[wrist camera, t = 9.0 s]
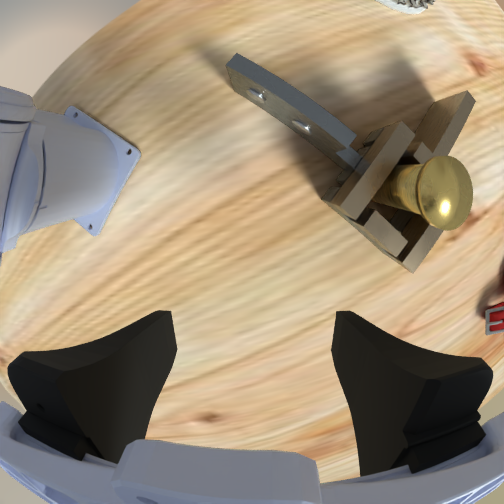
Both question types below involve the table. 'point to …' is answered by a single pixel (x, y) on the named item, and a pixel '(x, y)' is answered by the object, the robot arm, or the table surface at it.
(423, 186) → the hinge pin
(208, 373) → the table surface
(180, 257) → the table surface
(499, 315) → the tracker holder
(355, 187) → the swing leaf
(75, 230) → the table surface
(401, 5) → the decorative candle
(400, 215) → the fixed leaf
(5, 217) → the robot arm
